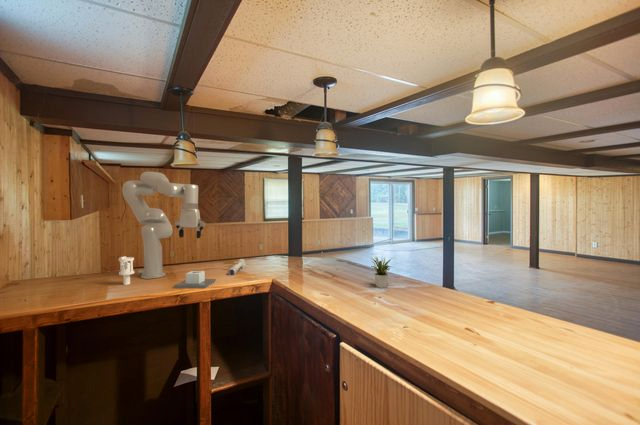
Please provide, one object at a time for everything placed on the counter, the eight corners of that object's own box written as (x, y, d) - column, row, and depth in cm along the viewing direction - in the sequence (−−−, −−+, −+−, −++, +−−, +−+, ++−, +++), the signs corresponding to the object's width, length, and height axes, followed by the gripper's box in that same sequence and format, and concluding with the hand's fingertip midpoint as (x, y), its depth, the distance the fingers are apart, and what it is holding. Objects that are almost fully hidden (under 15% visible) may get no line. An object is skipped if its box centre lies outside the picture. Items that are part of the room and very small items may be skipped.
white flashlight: (226, 269, 189) (238, 256, 214) (227, 279, 190) (239, 266, 215) (235, 269, 189) (246, 256, 214) (235, 279, 190) (247, 266, 215)
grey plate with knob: (174, 288, 160) (174, 275, 160) (187, 281, 174) (186, 269, 174) (205, 288, 159) (205, 275, 159) (215, 281, 173) (215, 269, 173)
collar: (185, 283, 163) (185, 273, 163) (191, 280, 170) (191, 271, 170) (199, 283, 163) (198, 273, 163) (204, 280, 170) (204, 271, 170)
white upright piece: (115, 285, 167) (115, 256, 166) (126, 282, 173) (126, 254, 173) (126, 286, 165) (126, 257, 165) (137, 282, 172) (137, 255, 171)
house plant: (360, 287, 157) (360, 255, 157) (369, 282, 169) (369, 251, 169) (388, 291, 150) (388, 256, 150) (396, 284, 163) (396, 253, 162)
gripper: (171, 206, 172) (171, 237, 172) (202, 207, 171) (202, 239, 171) (179, 206, 179) (178, 236, 180) (208, 207, 178) (207, 237, 179)
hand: (189, 237), depth 176 cm, fingers open, 9 cm apart
